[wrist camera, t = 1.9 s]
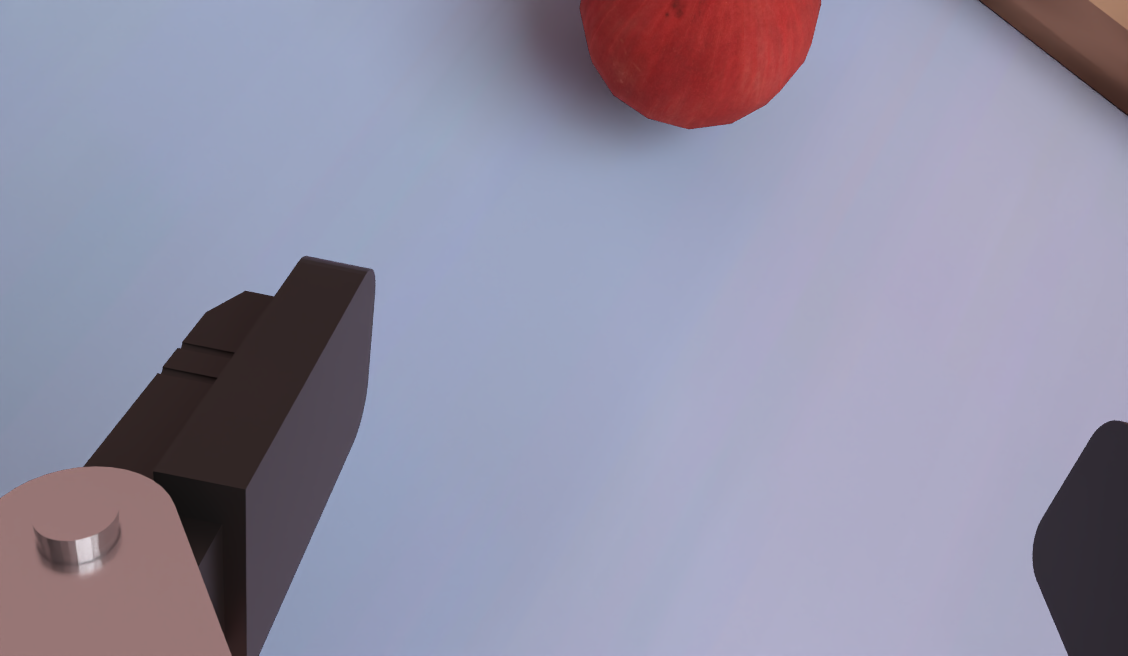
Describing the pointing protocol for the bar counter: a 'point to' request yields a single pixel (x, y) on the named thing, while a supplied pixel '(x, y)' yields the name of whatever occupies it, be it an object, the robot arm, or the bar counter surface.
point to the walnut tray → (1078, 38)
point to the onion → (698, 54)
